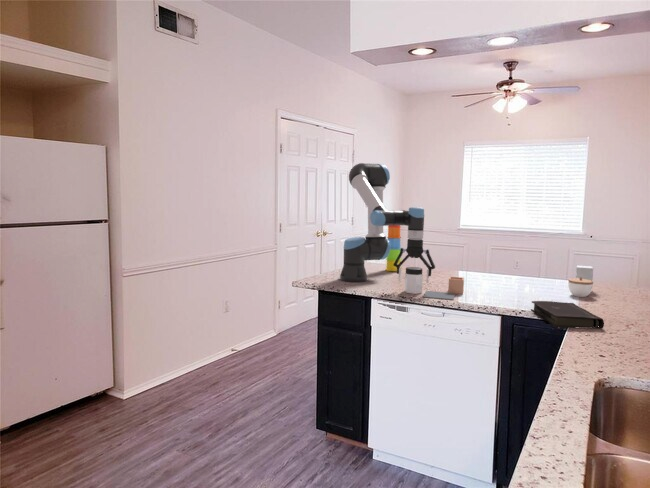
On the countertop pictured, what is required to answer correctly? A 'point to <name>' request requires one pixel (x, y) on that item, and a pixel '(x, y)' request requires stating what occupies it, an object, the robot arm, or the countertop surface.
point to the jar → (413, 280)
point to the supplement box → (584, 272)
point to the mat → (439, 295)
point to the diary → (566, 315)
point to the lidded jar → (580, 286)
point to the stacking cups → (393, 247)
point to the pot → (456, 285)
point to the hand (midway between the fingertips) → (413, 281)
